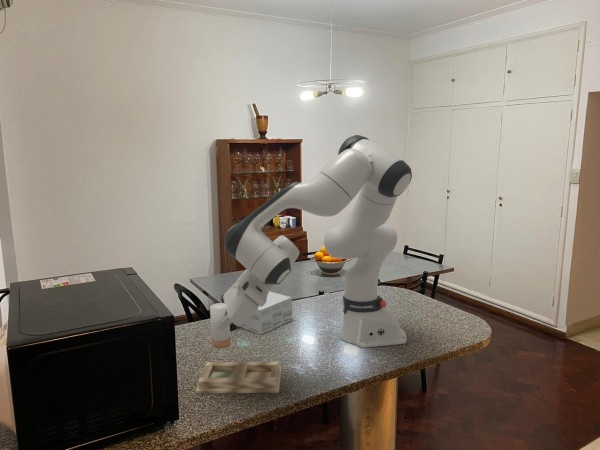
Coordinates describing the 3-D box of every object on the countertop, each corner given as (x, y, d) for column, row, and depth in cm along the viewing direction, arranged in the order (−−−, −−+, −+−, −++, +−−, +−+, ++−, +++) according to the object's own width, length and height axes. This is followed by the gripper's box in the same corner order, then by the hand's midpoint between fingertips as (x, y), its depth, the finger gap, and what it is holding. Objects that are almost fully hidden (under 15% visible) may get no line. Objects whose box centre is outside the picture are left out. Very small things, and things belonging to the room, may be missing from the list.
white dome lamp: (232, 340, 124) (230, 302, 122) (229, 348, 119) (227, 309, 117) (213, 340, 124) (211, 303, 122) (209, 348, 119) (207, 309, 117)
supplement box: (268, 312, 175) (267, 290, 173) (292, 320, 166) (292, 296, 165) (235, 326, 162) (234, 301, 161) (260, 335, 154) (259, 309, 152)
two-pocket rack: (281, 368, 130) (281, 359, 129) (278, 392, 117) (278, 382, 116) (206, 369, 130) (206, 360, 129) (195, 393, 117) (195, 383, 117)
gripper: (239, 269, 130) (207, 304, 129) (249, 289, 111) (211, 331, 110) (255, 282, 132) (223, 317, 131) (267, 304, 112) (230, 345, 112)
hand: (218, 324), depth 120 cm, fingers closed on white dome lamp, 5 cm apart
